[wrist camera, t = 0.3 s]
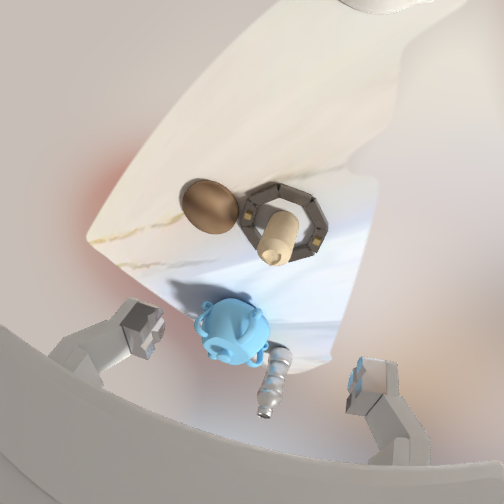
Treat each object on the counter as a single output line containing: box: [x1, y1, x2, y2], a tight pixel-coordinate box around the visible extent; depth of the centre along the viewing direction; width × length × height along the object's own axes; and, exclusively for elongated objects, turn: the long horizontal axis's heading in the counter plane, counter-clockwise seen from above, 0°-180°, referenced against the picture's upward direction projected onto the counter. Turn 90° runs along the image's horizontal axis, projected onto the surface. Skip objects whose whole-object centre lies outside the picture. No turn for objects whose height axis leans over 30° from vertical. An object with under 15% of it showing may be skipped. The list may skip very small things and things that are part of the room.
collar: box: [240, 184, 328, 262], centre depth 54 cm, size 15×15×2 cm
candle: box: [257, 211, 299, 266], centre depth 51 cm, size 6×6×10 cm
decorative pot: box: [194, 298, 270, 367], centre depth 69 cm, size 16×16×14 cm
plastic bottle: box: [257, 347, 292, 419], centre depth 72 cm, size 6×7×20 cm
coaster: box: [183, 181, 239, 234], centre depth 56 cm, size 11×11×1 cm
